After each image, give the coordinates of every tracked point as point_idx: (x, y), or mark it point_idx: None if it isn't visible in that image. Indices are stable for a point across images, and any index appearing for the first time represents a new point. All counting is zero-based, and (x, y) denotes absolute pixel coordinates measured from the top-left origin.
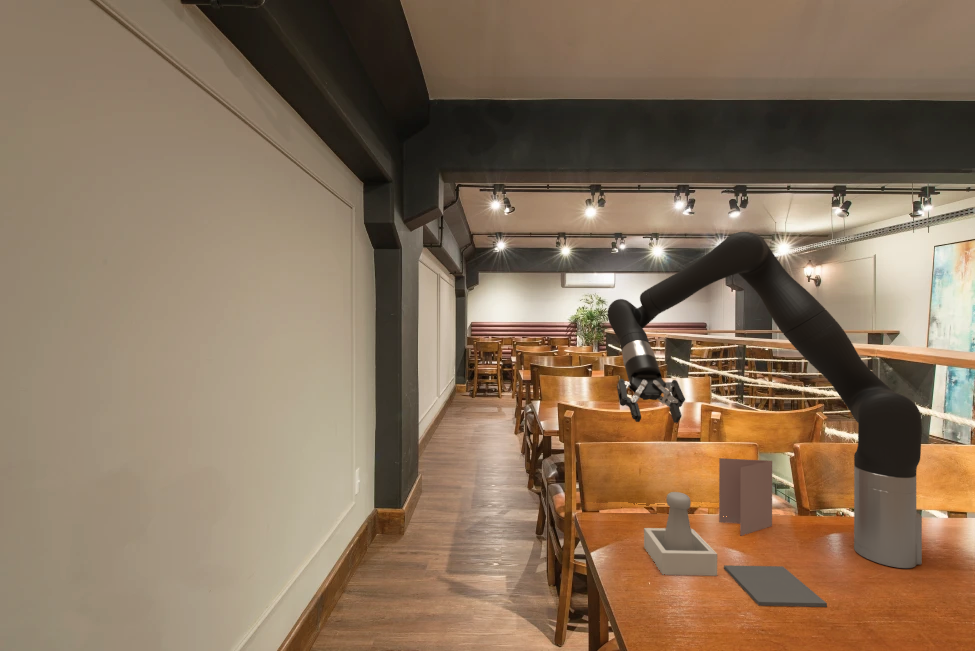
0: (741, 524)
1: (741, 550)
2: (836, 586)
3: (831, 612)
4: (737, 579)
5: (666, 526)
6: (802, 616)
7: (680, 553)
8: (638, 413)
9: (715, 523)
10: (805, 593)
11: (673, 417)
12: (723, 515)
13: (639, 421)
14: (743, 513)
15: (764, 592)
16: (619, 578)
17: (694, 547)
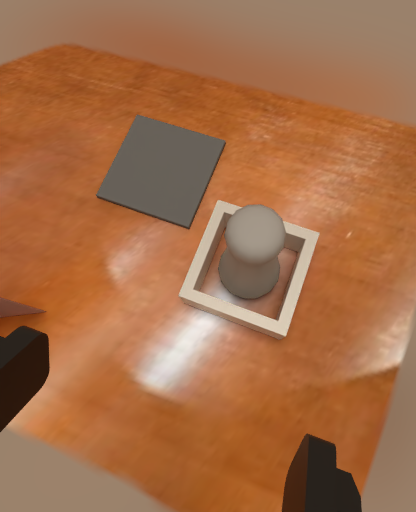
0: (30, 308)
1: (101, 266)
2: (71, 144)
3: (145, 109)
4: (204, 189)
5: (270, 274)
6: (190, 114)
7: (284, 221)
8: (326, 467)
9: None
10: (141, 136)
11: (21, 393)
12: None
13: (291, 463)
14: (9, 305)
15: (195, 154)
16: (395, 261)
17: (202, 275)
